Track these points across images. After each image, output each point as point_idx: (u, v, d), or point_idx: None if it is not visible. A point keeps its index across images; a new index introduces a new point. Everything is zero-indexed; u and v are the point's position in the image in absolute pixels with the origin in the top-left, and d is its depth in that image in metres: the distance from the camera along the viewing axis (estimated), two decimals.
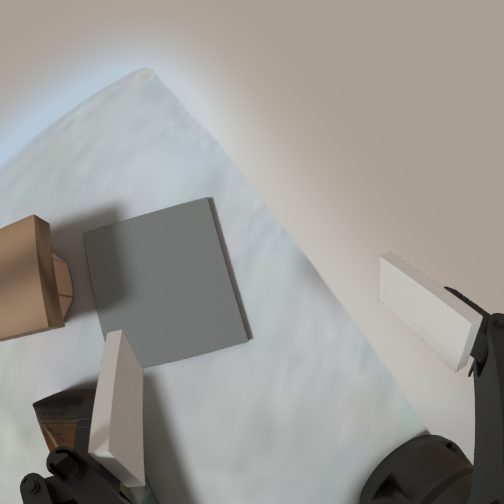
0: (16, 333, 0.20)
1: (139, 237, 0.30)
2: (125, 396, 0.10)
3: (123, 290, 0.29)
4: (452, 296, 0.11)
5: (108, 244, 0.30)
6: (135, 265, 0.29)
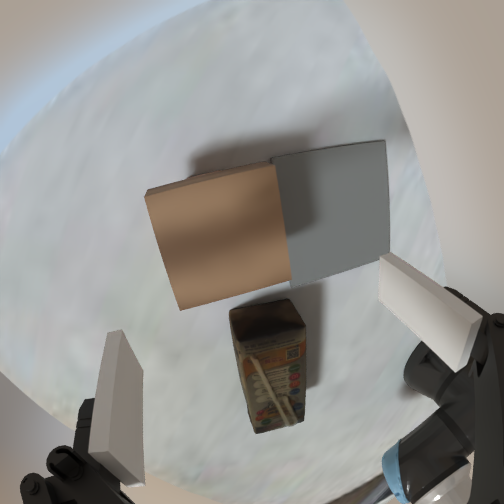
0: (248, 291, 0.26)
1: (330, 169, 0.32)
2: (125, 396, 0.10)
3: (311, 216, 0.33)
4: (452, 296, 0.11)
5: (300, 172, 0.31)
6: (324, 194, 0.33)
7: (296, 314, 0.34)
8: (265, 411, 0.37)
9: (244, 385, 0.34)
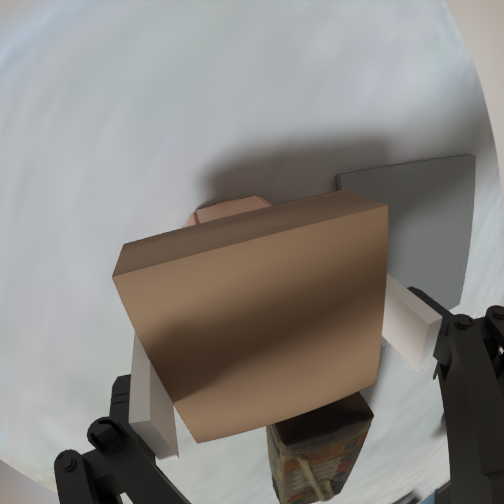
0: (310, 409, 0.14)
1: (415, 195, 0.20)
2: None
3: None
4: (413, 296, 0.11)
5: (378, 200, 0.19)
6: (404, 232, 0.21)
7: (360, 398, 0.22)
8: (300, 493, 0.25)
9: (280, 477, 0.22)
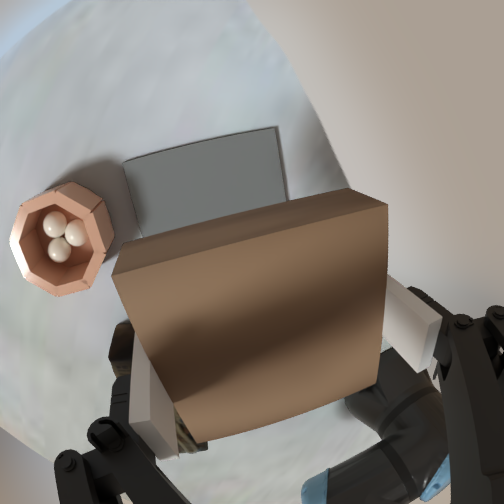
0: (310, 409, 0.14)
1: (195, 169, 0.27)
2: None
3: (177, 226, 0.28)
4: (413, 296, 0.11)
5: (157, 176, 0.26)
6: (190, 200, 0.28)
7: None
8: None
9: None
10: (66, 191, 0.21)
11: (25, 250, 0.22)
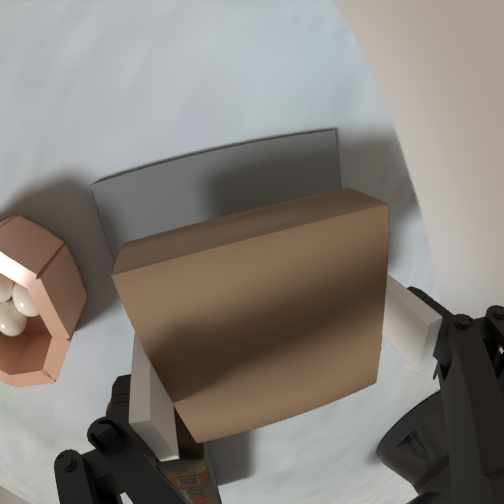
0: (310, 409, 0.14)
1: (210, 194, 0.16)
2: None
3: None
4: (413, 296, 0.11)
5: (147, 206, 0.16)
6: None
7: None
8: None
9: None
10: (0, 239, 0.11)
11: None
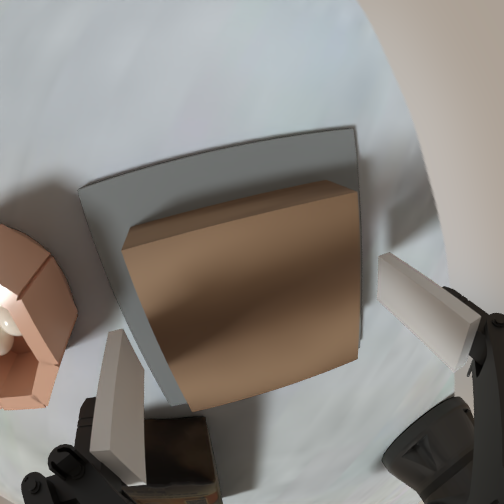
0: (296, 381, 0.16)
1: (214, 200, 0.14)
2: (126, 395, 0.10)
3: None
4: (451, 296, 0.11)
5: (142, 214, 0.14)
6: None
7: (205, 455, 0.17)
8: None
9: None
10: None
11: None
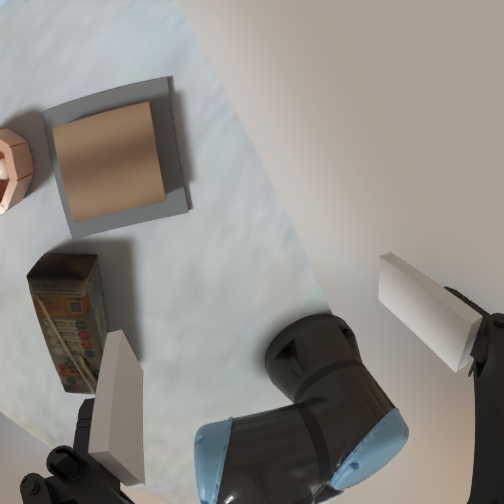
0: (128, 208, 0.29)
1: None
2: (125, 396, 0.10)
3: None
4: (452, 296, 0.11)
5: (67, 121, 0.26)
6: None
7: (86, 268, 0.30)
8: (67, 367, 0.32)
9: (42, 330, 0.30)
10: None
11: None
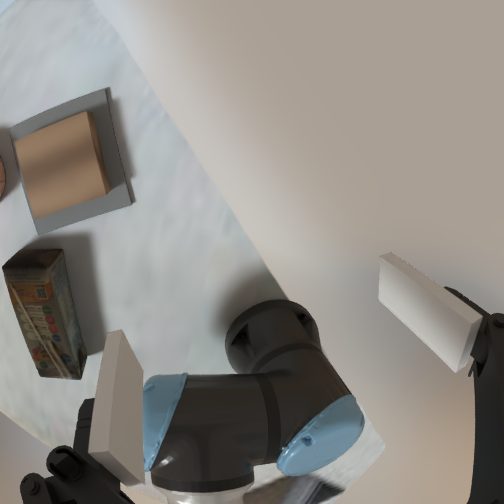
0: (76, 204, 0.31)
1: None
2: (125, 396, 0.10)
3: None
4: (452, 296, 0.11)
5: None
6: None
7: (50, 259, 0.32)
8: (39, 351, 0.34)
9: (16, 316, 0.32)
10: None
11: None
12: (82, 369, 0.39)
